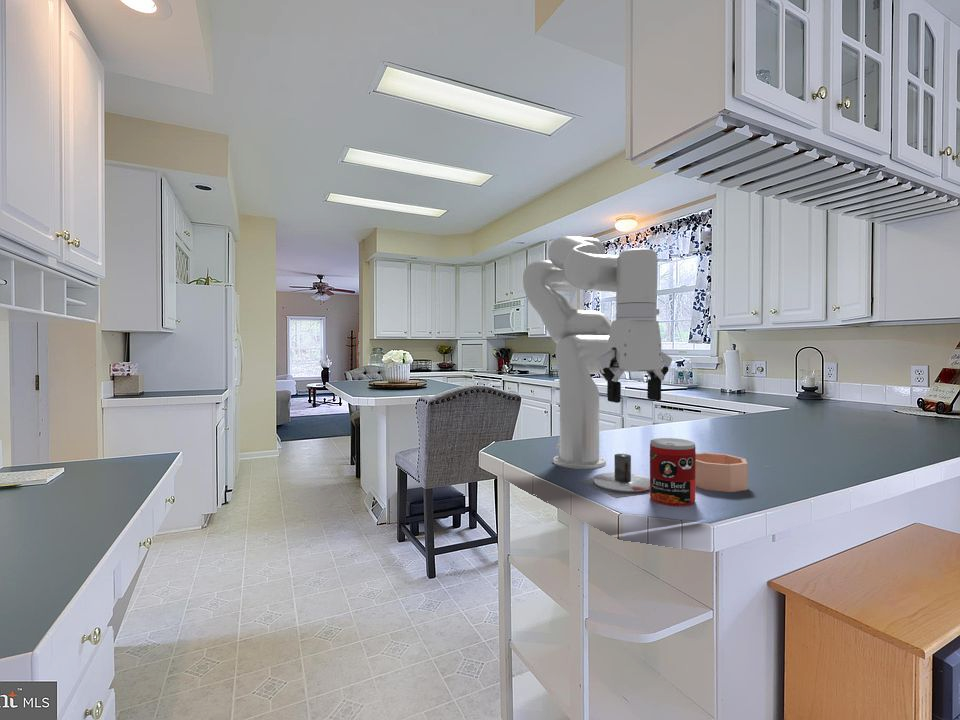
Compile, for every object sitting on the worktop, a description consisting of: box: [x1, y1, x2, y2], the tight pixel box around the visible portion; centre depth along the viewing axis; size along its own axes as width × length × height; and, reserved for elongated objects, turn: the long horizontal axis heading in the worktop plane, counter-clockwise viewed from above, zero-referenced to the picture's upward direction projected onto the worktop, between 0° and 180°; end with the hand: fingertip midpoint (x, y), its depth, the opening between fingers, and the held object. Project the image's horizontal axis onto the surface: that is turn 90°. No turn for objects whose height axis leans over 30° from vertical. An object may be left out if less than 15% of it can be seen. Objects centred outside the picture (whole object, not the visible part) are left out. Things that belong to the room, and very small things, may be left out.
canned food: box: [649, 437, 697, 507], centre depth 85 cm, size 8×8×11 cm
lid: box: [592, 453, 650, 493], centre depth 94 cm, size 12×12×6 cm
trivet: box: [577, 477, 650, 499], centre depth 94 cm, size 13×13×1 cm
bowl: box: [695, 452, 749, 493], centre depth 95 cm, size 11×11×6 cm
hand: (634, 400), depth 91 cm, fingers open, 9 cm apart
